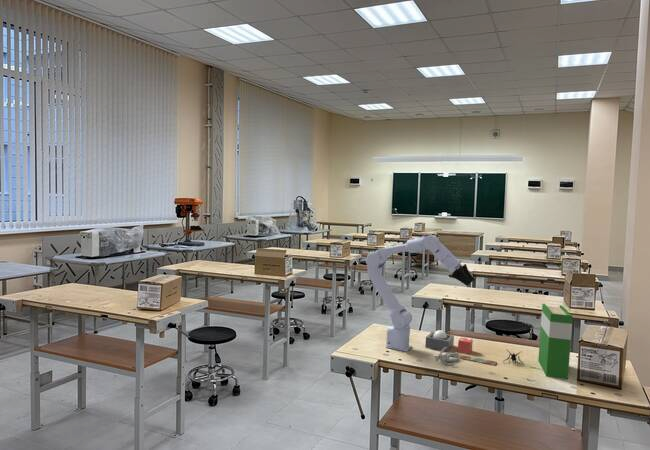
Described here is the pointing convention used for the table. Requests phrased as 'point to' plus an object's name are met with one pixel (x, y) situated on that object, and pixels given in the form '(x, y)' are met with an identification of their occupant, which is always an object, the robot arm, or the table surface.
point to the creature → (513, 357)
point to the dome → (440, 335)
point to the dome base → (439, 342)
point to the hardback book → (555, 341)
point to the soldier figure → (446, 357)
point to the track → (473, 359)
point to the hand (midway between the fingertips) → (470, 282)
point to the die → (465, 345)
